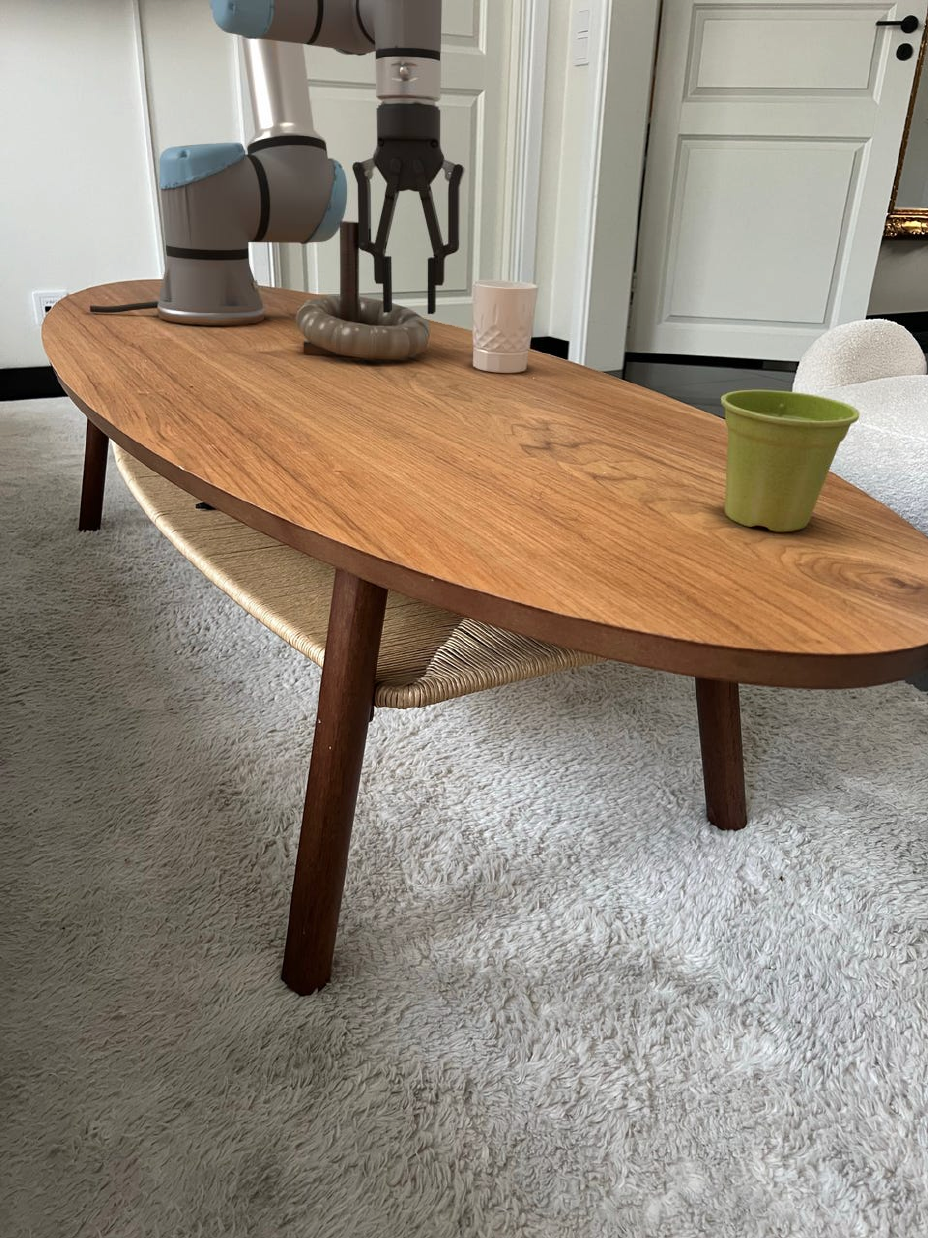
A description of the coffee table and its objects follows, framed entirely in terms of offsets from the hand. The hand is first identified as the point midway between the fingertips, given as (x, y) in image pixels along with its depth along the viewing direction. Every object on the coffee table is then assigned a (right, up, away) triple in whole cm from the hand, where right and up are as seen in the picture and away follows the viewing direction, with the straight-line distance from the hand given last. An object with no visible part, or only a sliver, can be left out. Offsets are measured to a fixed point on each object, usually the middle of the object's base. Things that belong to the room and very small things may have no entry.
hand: (409, 311), depth 116 cm
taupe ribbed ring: (-6, -2, 0) cm, 6 cm away
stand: (-8, -4, +3) cm, 10 cm away
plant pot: (+30, -32, -48) cm, 65 cm away
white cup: (+11, -8, -2) cm, 14 cm away
